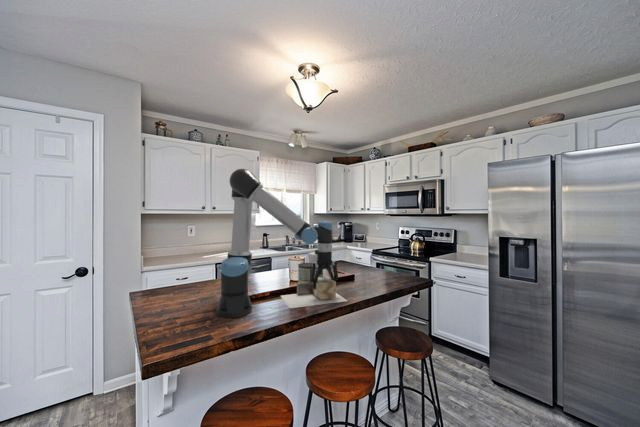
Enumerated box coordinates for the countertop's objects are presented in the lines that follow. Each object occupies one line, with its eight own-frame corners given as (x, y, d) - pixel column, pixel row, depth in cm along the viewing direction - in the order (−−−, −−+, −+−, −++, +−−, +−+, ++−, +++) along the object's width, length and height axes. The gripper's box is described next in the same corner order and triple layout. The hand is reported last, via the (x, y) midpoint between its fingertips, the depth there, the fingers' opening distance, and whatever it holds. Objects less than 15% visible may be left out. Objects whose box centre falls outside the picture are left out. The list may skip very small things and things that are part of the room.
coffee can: (299, 285, 165) (299, 262, 165) (316, 286, 164) (317, 263, 164) (296, 290, 155) (296, 266, 154) (314, 291, 154) (314, 266, 153)
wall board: (289, 309, 127) (289, 308, 127) (280, 296, 144) (280, 295, 144) (347, 302, 138) (347, 300, 138) (332, 291, 155) (332, 290, 155)
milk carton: (314, 283, 170) (315, 251, 169) (305, 280, 176) (306, 249, 176) (325, 281, 175) (325, 250, 175) (316, 278, 182) (316, 248, 182)
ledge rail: (297, 296, 145) (298, 283, 145) (296, 295, 147) (296, 282, 147) (332, 292, 153) (332, 280, 153) (330, 291, 155) (331, 279, 154)
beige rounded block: (321, 299, 136) (321, 282, 136) (312, 292, 147) (312, 277, 147) (335, 297, 139) (336, 281, 139) (326, 290, 150) (326, 275, 150)
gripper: (308, 253, 135) (307, 298, 136) (345, 251, 143) (344, 294, 144) (303, 250, 142) (302, 294, 143) (339, 249, 150) (338, 290, 151)
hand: (323, 294), depth 143 cm, fingers closed on beige rounded block, 8 cm apart
